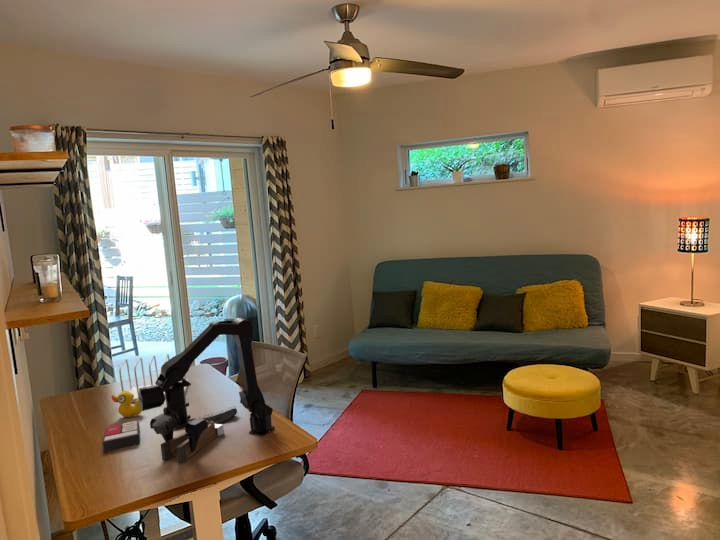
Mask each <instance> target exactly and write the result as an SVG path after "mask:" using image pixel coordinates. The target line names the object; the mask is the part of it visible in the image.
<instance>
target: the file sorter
mask: <svg viewBox="0 0 720 540" xmlns="http://www.w3.org/2000/svg"><path fill="white" fill-rule="evenodd" d="M170 359H171V358H170V355H169V353H166V355H165V358H164V362H163V364H164V363H165V362H167V361H168V360H170ZM153 360H154V366H155V373H156V380H157V379H158V377H159V373H158V366H157V359H156V355H152V357H151V359H150V361H149V364H148V371H149V378H150V379H149V380H150V384H146V379H145V371H144V362H143V359H142V357H138V359H137V361H136V362H135V363H134V368H133V372H134V379H135V384H136V385H135V386H133V387H132V380H131V373H130V367H129V361H128V359H127V358H125V359H124V360H123V361H122V362H121V364H120V366H119V368H118V371H119V372H118V373H119V379H120V387H121V392H123V391H125V390H124V385H123V379H122V378H123V377H122V367H123V366H124V364H126V368H127V369H126V370H127V374H128V381H129V386H130V387H128V389H127V391H128V392H130V393H132V394H133V395H134V398H133V400H132V402H134V403H135V402H136V400H137V399H138V397H139V388H142V387H149V386H153V385H156V384H155V383H154V382H153V378H152V377H153V376H152V370H151V364H152V362H153ZM125 362H126V363H125ZM139 362H140V363H141V371H142V379H143V380H142V381H143V385H139V383H138V375H137V366H138V364H139ZM186 375H187V374H186ZM186 375H185V376H184V377H183V378H185V379H186V380H187V381H188V382H189V380H188V379H189V378H187V376H186ZM187 389H188V386H186V387H184V390H185V395H186V393H187V391H188V390H187ZM164 396H165V392H164ZM165 399H166V397H165ZM132 402H131V403H130V404H133V403H132Z"/></svg>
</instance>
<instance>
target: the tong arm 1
mask: <svg viewBox="0 0 720 540" xmlns="http://www.w3.org/2000/svg"><path fill="white" fill-rule="evenodd" d="M207 423H208V424H210V423H209V422H208V420H207ZM185 434H187V433H186V432H185V431H184V432H183V433H181V434H178V435H177V436H175V437H173V439H171V440H169V441H166V442H165V441H164V442H162V443H160V453H161V460H162V461H168V460H169V459H171V458H173V457H174V456H177V450H176V447H177V446H179V445H180V444H182V443H183V442H185V441H186V440H187V439H189V438H188V437H187V436H186V435H185Z"/></svg>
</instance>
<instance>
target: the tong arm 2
mask: <svg viewBox="0 0 720 540" xmlns="http://www.w3.org/2000/svg"><path fill="white" fill-rule="evenodd" d="M215 438H217V437H216V433H215V424H214V422H213V421H211V422H210V424H208V428H206V429H205V430H204V431H202V433H201V435H200V437H199V440H198V443H197V446H196V449H195V451H194V452H191V449H190V443H189V439H187V440H186V441H185V442H183V443H182V444H180V445H179V446H177V447H176V450H177V455H176V457H177V458H176V459H177V463H178V464H183V463H184V462H186V461H187V460H188V459H189V458H190V457H192V456H193V455H194V454H196V453H197V452H199V450H201V449H202V448H203V447H205V446H206V445H207V444H208V443H210V442H211V441H212V440H213V439H215Z"/></svg>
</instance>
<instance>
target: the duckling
mask: <svg viewBox="0 0 720 540" xmlns="http://www.w3.org/2000/svg"><path fill="white" fill-rule="evenodd" d="M133 398H134V395H133V394H132V393H130V392H128V390H124V391H123V392H122V391H121V392H119V394H118V395H117V396H115V395H114V394H113V395H112V396H111V399H112V401H113V402H114V403H119V404H120V405H119V406H118V408H117V410H118V414H120V416H122V417H124V418H134V417H136V416H138V415H140V414H141V413H142V412H143V411H141V409H140V405H139V400H138V399H137V400H136V402H134V405H133V404H132V403H131V402H132V400H133Z"/></svg>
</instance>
